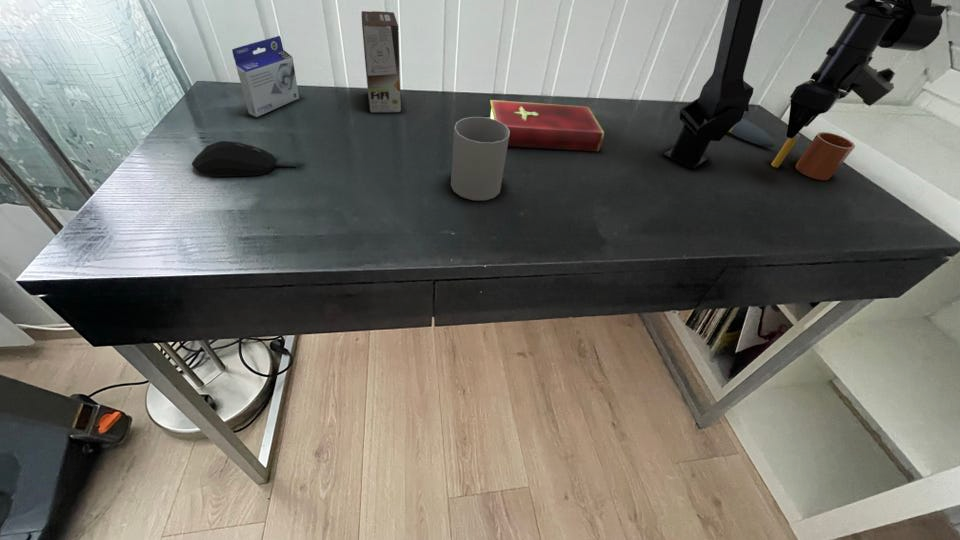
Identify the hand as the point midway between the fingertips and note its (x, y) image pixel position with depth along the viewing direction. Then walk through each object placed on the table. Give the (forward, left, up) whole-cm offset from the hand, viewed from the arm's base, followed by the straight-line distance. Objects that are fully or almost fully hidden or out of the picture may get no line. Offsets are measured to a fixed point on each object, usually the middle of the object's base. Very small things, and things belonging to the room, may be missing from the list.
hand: (796, 131), depth 81 cm
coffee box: (-52, +64, -8) cm, 83 cm away
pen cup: (+5, -6, -8) cm, 11 cm away
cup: (-57, +30, -8) cm, 65 cm away
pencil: (0, 0, -8) cm, 8 cm away
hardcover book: (-33, +36, -8) cm, 49 cm away
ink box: (-71, +73, -8) cm, 102 cm away
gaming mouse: (-84, +55, -8) cm, 101 cm away
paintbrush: (+7, +13, -8) cm, 17 cm away
